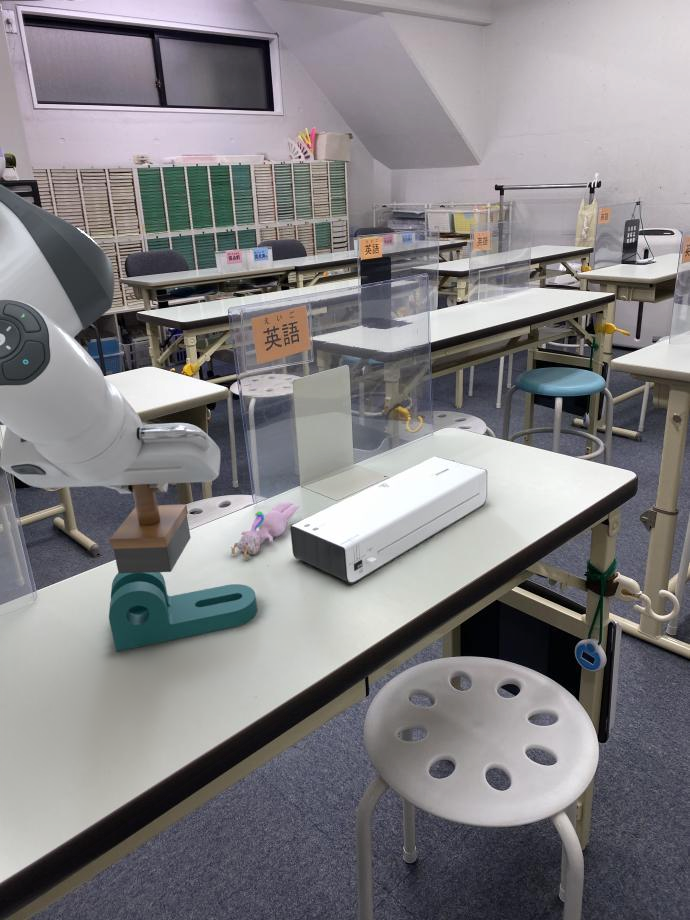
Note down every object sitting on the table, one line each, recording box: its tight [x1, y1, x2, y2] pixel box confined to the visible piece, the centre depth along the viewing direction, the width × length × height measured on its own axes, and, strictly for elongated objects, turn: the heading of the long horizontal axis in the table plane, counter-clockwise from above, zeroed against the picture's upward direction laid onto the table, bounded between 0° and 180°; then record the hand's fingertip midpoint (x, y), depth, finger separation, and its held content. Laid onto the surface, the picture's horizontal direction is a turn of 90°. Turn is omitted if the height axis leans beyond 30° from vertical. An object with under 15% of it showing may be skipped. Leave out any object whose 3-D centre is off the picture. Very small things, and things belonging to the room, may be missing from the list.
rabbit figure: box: [230, 502, 301, 562], centre depth 108 cm, size 6×6×15 cm
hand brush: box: [108, 484, 191, 574], centre depth 77 cm, size 8×6×14 cm
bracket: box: [108, 572, 258, 653], centre depth 88 cm, size 18×7×8 cm, turn 105°
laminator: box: [289, 455, 488, 585], centre depth 107 cm, size 34×12×6 cm, turn 135°
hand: (145, 486), depth 77 cm, fingers closed on hand brush, 2 cm apart
